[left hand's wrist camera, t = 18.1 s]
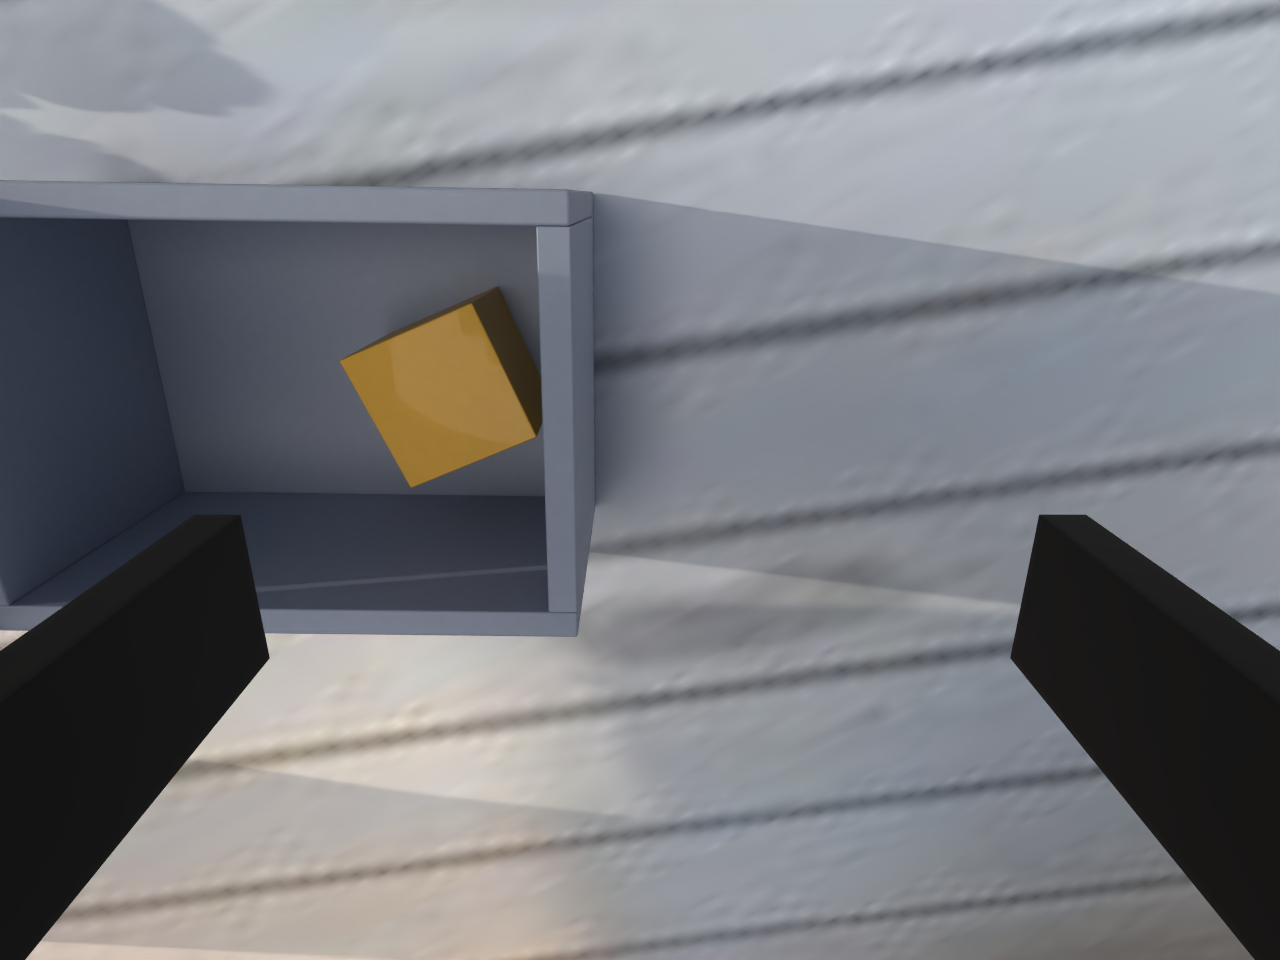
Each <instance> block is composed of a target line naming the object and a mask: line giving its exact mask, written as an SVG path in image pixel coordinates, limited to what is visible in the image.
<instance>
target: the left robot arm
mask: <svg viewBox="0 0 1280 960" xmlns="http://www.w3.org/2000/svg"><path fill="white" fill-rule="evenodd" d="M269 658H270V657H269V653H268V648H267V643H266V638H265V633H264V628H263V623H262V618H261V613H260V608H259V603H258V598H257V593H256V588H255V583H254V578H253V573H252V568H251V563H250V558H249V553H248V548H247V544H246V539H245V534H244V529H243V524H242V519H241V515H193V516H192V517H190V518H189V519H187V520H186V521H185V522H183V523H182V524H180V525H179V526H177V527H176V528H175V529H173V530H172V531H170V532H169V533H167V534H166V535H165V536H163V537H162V538H160V539H159V540H158V541H156V542H155V543H153V544H152V545H150V546H149V547H148V548H146V549H145V550H143V551H142V552H140V553H139V554H138V555H136V556H135V557H133V558H132V559H131V560H129V561H128V562H126V563H125V564H123V565H122V566H121V567H119V568H118V569H116V570H115V571H113V572H112V573H111V574H109V575H108V576H106V577H105V578H104V579H102V580H101V581H99V582H98V583H96V584H95V585H94V586H92V587H91V588H89V589H88V590H86V591H85V592H84V593H82V594H81V595H79V596H78V597H76V598H75V599H74V600H72V601H71V602H69V603H68V604H67V605H65V606H64V607H62V608H61V609H59V610H58V611H57V612H55V613H54V614H52V615H51V616H49V617H48V618H47V619H45V620H44V621H42V622H41V623H40V624H38V625H37V626H35V627H34V628H32V629H31V630H30V631H28V632H27V633H25V634H24V635H22V636H21V637H20V638H18V639H17V640H15V641H14V642H12V643H11V644H10V645H8V646H7V647H5V648H4V649H3V650H1V651H0V960H25V959H26V958H27V957H28V956H29V954H30V953H31V952H32V951H33V949H34V948H35V947H36V946H37V944H38V943H39V942H40V941H41V940H42V938H43V937H44V936H45V935H46V933H47V932H48V931H49V930H50V928H51V927H52V926H53V925H54V923H55V922H56V921H57V920H58V919H59V917H60V916H61V915H62V914H63V912H64V911H65V910H66V909H67V907H68V906H69V905H70V904H71V902H72V901H73V900H74V899H75V898H76V896H77V895H78V894H79V893H80V891H81V890H82V889H83V888H84V886H85V885H86V884H87V883H88V882H89V880H90V879H91V878H92V877H93V875H94V874H95V873H96V872H97V870H98V869H99V868H100V867H101V865H102V864H103V863H104V862H105V861H106V859H107V858H108V857H109V856H110V854H111V853H112V852H113V851H114V849H115V848H116V847H117V846H118V845H119V843H120V842H121V841H122V840H123V838H124V837H125V836H126V835H127V833H128V832H129V831H130V830H131V828H132V827H133V826H134V825H135V824H136V822H137V821H138V820H139V819H140V817H141V816H142V815H143V814H144V812H145V811H146V810H147V809H148V808H149V806H150V805H151V804H152V803H153V801H154V800H155V799H156V798H157V796H158V795H159V794H160V793H161V791H162V790H163V789H164V788H165V787H166V785H167V784H168V783H169V782H170V780H171V779H172V778H173V777H174V775H175V774H176V773H177V772H178V771H179V769H180V768H181V767H182V766H183V764H184V763H185V762H186V761H187V759H188V758H189V757H190V756H191V754H192V753H193V752H194V751H195V750H196V748H197V747H198V746H199V745H200V743H201V742H202V741H203V740H204V738H205V737H206V736H207V735H208V734H209V732H210V731H211V730H212V729H213V727H214V726H215V725H216V724H217V722H218V721H219V720H220V719H221V717H222V716H223V715H224V714H225V713H226V711H227V710H228V709H229V708H230V706H231V705H232V704H233V703H234V701H235V700H236V699H237V698H238V696H239V695H240V694H241V693H242V692H243V690H244V689H245V688H246V687H247V685H248V684H249V683H250V682H251V680H252V679H253V678H254V677H255V676H256V674H257V673H258V672H259V671H260V669H261V668H262V667H263V666H264V664H265V663H266V662H267V661H268V659H269ZM1010 658H1011V659H1012V661H1013V662H1014V663H1015V664H1016V666H1017V667H1018V668H1019V669H1020V671H1021V672H1022V673H1023V674H1024V676H1025V677H1026V678H1027V679H1028V680H1029V682H1030V683H1031V684H1032V685H1033V687H1034V688H1035V689H1036V690H1037V692H1038V693H1039V694H1040V695H1041V696H1042V698H1043V699H1044V700H1045V701H1046V703H1047V704H1048V705H1049V706H1050V708H1051V709H1052V710H1053V711H1054V713H1055V714H1056V715H1057V716H1058V717H1059V719H1060V720H1061V721H1062V722H1063V724H1064V725H1065V726H1066V727H1067V729H1068V730H1069V731H1070V732H1071V734H1072V735H1073V736H1074V737H1075V738H1076V740H1077V741H1078V742H1079V743H1080V745H1081V746H1082V747H1083V748H1084V750H1085V751H1086V752H1087V753H1088V754H1089V756H1090V757H1091V758H1092V759H1093V761H1094V762H1095V763H1096V764H1097V766H1098V767H1099V768H1100V769H1101V771H1102V772H1103V773H1104V774H1105V775H1106V777H1107V778H1108V779H1109V780H1110V782H1111V783H1112V784H1113V785H1114V787H1115V788H1116V789H1117V790H1118V791H1119V793H1120V794H1121V795H1122V796H1123V798H1124V799H1125V800H1126V801H1127V803H1128V804H1129V805H1130V806H1131V808H1132V809H1133V810H1134V811H1135V812H1136V814H1137V815H1138V816H1139V817H1140V819H1141V820H1142V821H1143V822H1144V824H1145V825H1146V826H1147V827H1148V828H1149V830H1150V831H1151V832H1152V833H1153V835H1154V836H1155V837H1156V838H1157V840H1158V841H1159V842H1160V843H1161V845H1162V846H1163V847H1164V848H1165V849H1166V851H1167V852H1168V853H1169V854H1170V856H1171V857H1172V858H1173V859H1174V861H1175V862H1176V863H1177V864H1178V865H1179V867H1180V868H1181V869H1182V870H1183V872H1184V873H1185V874H1186V875H1187V877H1188V878H1189V879H1190V880H1191V882H1192V883H1193V884H1194V885H1195V886H1196V888H1197V889H1198V890H1199V891H1200V893H1201V894H1202V895H1203V896H1204V898H1205V899H1206V900H1207V901H1208V902H1209V904H1210V905H1211V906H1212V907H1213V909H1214V910H1215V911H1216V912H1217V914H1218V915H1219V916H1220V917H1221V919H1222V920H1223V921H1224V922H1225V923H1226V925H1227V926H1228V927H1229V928H1230V930H1231V931H1232V932H1233V933H1234V935H1235V936H1236V937H1237V938H1238V940H1239V941H1240V942H1241V943H1242V944H1243V946H1244V947H1245V948H1246V949H1247V951H1248V952H1249V953H1250V954H1251V956H1252V957H1253V958H1254V959H1255V960H1280V651H1279V650H1277V649H1276V648H1275V647H1273V646H1272V645H1270V644H1269V643H1268V642H1266V641H1265V640H1263V639H1262V638H1260V637H1259V636H1258V635H1256V634H1255V633H1253V632H1252V631H1250V630H1249V629H1248V628H1246V627H1245V626H1243V625H1242V624H1240V623H1239V622H1238V621H1236V620H1235V619H1233V618H1232V617H1231V616H1229V615H1228V614H1226V613H1225V612H1223V611H1222V610H1221V609H1219V608H1218V607H1216V606H1215V605H1213V604H1212V603H1211V602H1209V601H1208V600H1206V599H1205V598H1204V597H1202V596H1201V595H1199V594H1198V593H1196V592H1195V591H1194V590H1192V589H1191V588H1189V587H1188V586H1186V585H1185V584H1184V583H1182V582H1181V581H1179V580H1178V579H1176V578H1175V577H1174V576H1172V575H1171V574H1169V573H1168V572H1167V571H1165V570H1164V569H1162V568H1161V567H1159V566H1158V565H1157V564H1155V563H1154V562H1152V561H1151V560H1149V559H1148V558H1147V557H1145V556H1144V555H1142V554H1141V553H1140V552H1138V551H1137V550H1135V549H1134V548H1132V547H1131V546H1130V545H1128V544H1127V543H1125V542H1124V541H1122V540H1121V539H1120V538H1118V537H1117V536H1115V535H1114V534H1113V533H1111V532H1110V531H1108V530H1107V529H1105V528H1104V527H1103V526H1101V525H1100V524H1098V523H1097V522H1095V521H1094V520H1093V519H1091V518H1090V517H1088V516H1087V515H1039V519H1038V524H1037V529H1036V534H1035V539H1034V544H1033V548H1032V553H1031V558H1030V563H1029V568H1028V573H1027V578H1026V583H1025V588H1024V593H1023V598H1022V603H1021V608H1020V613H1019V618H1018V623H1017V628H1016V633H1015V638H1014V643H1013V648H1012V653H1011V657H1010Z"/></svg>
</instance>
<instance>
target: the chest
mask: <svg viewBox="0 0 1280 960" xmlns="http://www.w3.org/2000/svg"><path fill="white" fill-rule="evenodd" d="M496 286H498V287H499V289H500V291H501V293H502V295H503V298H504V300H505V302H506V304H507V306H508V308H509V310H510V312H511V315H512V317H513V319H514V321H515V323H516V325H517V327H518V329H519V332H520V334H521V336H522V338H523V340H524V342H525V344H526V346H527V349H528V351H529V353H530V355H531V357H532V359H533V361H534V363H535V366H536V368H537V370H538V372H539V374H540V376H541V390H542V421H543V423H542V425H541V428H540V430H539V433H538V435H537V437H536V438H534V439H531V440H529V441H526V442H524V443H521V444H519V445H516V446H514V447H511V448H509V449H507V450H504V451H502V452H499V453H497V454H494V455H492V456H489V457H487V458H484V459H482V460H479V461H477V462H474V463H472V464H470V465H467V466H465V467H462V468H460V469H457V470H455V471H452V472H450V473H447V474H445V475H442V476H440V477H438V478H435V479H433V480H430V481H428V482H425V483H423V484H420V485H418V486H415V487H413V488H411V487H410V486H409V484H408V482H407V480H406V478H405V477H404V475H403V473H402V471H401V470H400V468H399V466H398V464H397V462H396V461H395V459H394V457H393V455H392V454H391V452H390V450H389V448H388V446H387V445H386V443H385V441H384V439H383V438H382V436H381V434H380V432H379V430H378V429H377V427H376V425H375V423H374V422H373V420H372V418H371V416H370V414H369V413H368V411H367V409H366V407H365V406H364V404H363V402H362V400H361V398H360V397H359V395H358V393H357V391H356V390H355V388H354V386H353V384H352V382H351V381H350V379H349V377H348V375H347V374H346V372H345V370H344V368H343V366H342V365H341V363H340V360H341V359H343V358H345V357H347V356H348V355H350V354H352V353H354V352H356V351H358V350H359V349H361V348H363V347H365V346H367V345H369V344H370V343H372V342H374V341H376V340H378V339H379V338H381V337H383V336H385V335H387V334H389V333H391V332H394V331H396V330H398V329H401V328H403V327H405V326H407V325H410V324H412V323H414V322H416V321H419V320H421V319H423V318H426V317H428V316H430V315H432V314H435V313H437V312H439V311H442V310H444V309H446V308H448V307H451V306H453V305H455V304H457V303H460V302H462V301H464V300H467V299H469V298H471V297H473V296H476V295H478V294H480V293H483V292H485V291H487V290H489V289H492V288H494V287H496ZM594 511H595V418H594V264H593V193H592V192H585V191H575V190H562V189H500V188H439V187H378V186H316V185H255V184H194V183H132V182H71V181H10V180H0V630H28V631H30V630H31V629H32V628H34V627H35V626H37V625H38V624H40V623H41V622H42V621H44V620H45V619H47V618H48V617H49V616H51V615H52V614H54V613H55V612H57V611H58V610H59V609H61V608H62V607H64V606H65V605H67V604H68V603H69V602H71V601H72V600H74V599H75V598H76V597H78V596H79V595H81V594H82V593H84V592H85V591H86V590H88V589H89V588H91V587H92V586H94V585H95V584H96V583H98V582H99V581H101V580H102V579H104V578H105V577H106V576H108V575H109V574H111V573H112V572H113V571H115V570H116V569H118V568H119V567H121V566H122V565H123V564H125V563H126V562H128V561H129V560H131V559H132V558H133V557H135V556H136V555H138V554H139V553H140V552H142V551H143V550H145V549H146V548H148V547H149V546H150V545H152V544H153V543H155V542H156V541H158V540H159V539H160V538H162V537H163V536H165V535H166V534H167V533H169V532H170V531H172V530H173V529H175V528H176V527H177V526H179V525H180V524H182V523H183V522H185V521H186V520H187V519H189V518H190V517H192V516H193V515H241V519H242V524H243V529H244V534H245V539H246V544H247V548H248V553H249V558H250V563H251V568H252V573H253V578H254V583H255V588H256V593H257V598H258V603H259V608H260V613H261V618H262V623H263V628H264V633H294V634H383V635H471V636H560V637H576V636H577V635H578V628H579V621H580V614H581V606H582V599H583V592H584V584H585V577H586V570H587V562H588V555H589V548H590V540H591V533H592V526H593V518H594Z"/></svg>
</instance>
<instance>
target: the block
mask: <svg viewBox="0 0 1280 960" xmlns="http://www.w3.org/2000/svg"><path fill="white" fill-rule="evenodd" d="M340 363H341V365H342V366H343V368H344V370H345V372H346V374H347V375H348V377H349V379H350V381H351V382H352V384H353V386H354V388H355V390H356V391H357V393H358V395H359V397H360V398H361V400H362V402H363V404H364V406H365V407H366V409H367V411H368V413H369V414H370V416H371V418H372V420H373V422H374V423H375V425H376V427H377V429H378V430H379V432H380V434H381V436H382V438H383V439H384V441H385V443H386V445H387V446H388V448H389V450H390V452H391V454H392V455H393V457H394V459H395V461H396V462H397V464H398V466H399V468H400V470H401V471H402V473H403V475H404V477H405V478H406V480H407V482H408V484H409V486H410V487H411V488H413V487H415V486H418V485H420V484H423V483H425V482H428V481H430V480H433V479H435V478H438V477H440V476H442V475H445V474H447V473H450V472H452V471H455V470H457V469H460V468H462V467H465V466H467V465H470V464H472V463H474V462H477V461H479V460H482V459H484V458H487V457H489V456H492V455H494V454H497V453H499V452H502V451H504V450H507V449H509V448H511V447H514V446H516V445H519V444H521V443H524V442H526V441H529V440H531V439H534V438H536V437H537V435H538V433H539V430H540V428H541V425H542V423H543V421H542V390H541V376H540V374H539V372H538V370H537V368H536V366H535V363H534V361H533V359H532V357H531V355H530V353H529V351H528V349H527V346H526V344H525V342H524V340H523V338H522V336H521V334H520V332H519V329H518V327H517V325H516V323H515V321H514V319H513V317H512V315H511V312H510V310H509V308H508V306H507V304H506V302H505V300H504V298H503V295H502V293H501V291H500V289H499V287H498V286H496V287H494V288H492V289H489V290H487V291H485V292H483V293H480V294H478V295H476V296H473V297H471V298H469V299H467V300H464V301H462V302H460V303H457V304H455V305H453V306H451V307H448V308H446V309H444V310H442V311H439V312H437V313H435V314H432V315H430V316H428V317H426V318H423V319H421V320H419V321H416V322H414V323H412V324H410V325H407V326H405V327H403V328H401V329H398V330H396V331H394V332H391V333H389V334H387V335H385V336H383V337H381V338H379V339H378V340H376V341H374V342H372V343H370V344H369V345H367V346H365V347H363V348H361V349H359V350H358V351H356V352H354V353H352V354H350V355H348V356H347V357H345V358H343V359H341V360H340Z"/></svg>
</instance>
